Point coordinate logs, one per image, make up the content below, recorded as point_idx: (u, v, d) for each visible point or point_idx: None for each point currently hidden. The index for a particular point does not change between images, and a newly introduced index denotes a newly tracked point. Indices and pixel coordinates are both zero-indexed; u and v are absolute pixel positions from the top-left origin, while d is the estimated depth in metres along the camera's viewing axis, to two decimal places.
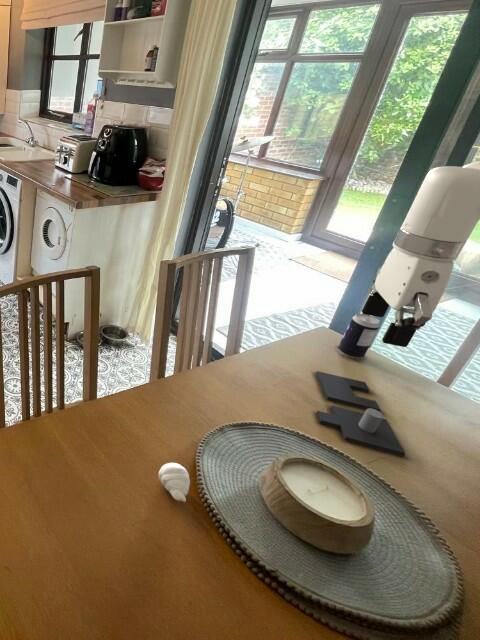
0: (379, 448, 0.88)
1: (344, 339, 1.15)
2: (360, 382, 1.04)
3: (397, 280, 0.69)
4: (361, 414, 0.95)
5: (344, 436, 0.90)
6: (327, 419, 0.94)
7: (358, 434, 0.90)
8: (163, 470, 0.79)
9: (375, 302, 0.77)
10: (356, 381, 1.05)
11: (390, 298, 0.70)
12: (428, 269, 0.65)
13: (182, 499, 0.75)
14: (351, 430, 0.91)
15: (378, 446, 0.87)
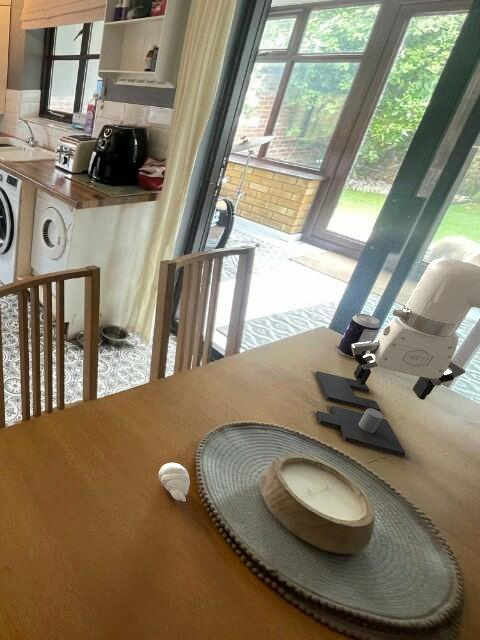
0: (379, 448, 0.88)
1: (344, 339, 1.15)
2: None
3: None
4: (361, 414, 0.95)
5: (344, 436, 0.90)
6: (327, 419, 0.94)
7: (358, 434, 0.90)
8: (163, 470, 0.79)
9: (420, 381, 0.84)
10: (356, 381, 1.05)
11: None
12: (389, 325, 0.82)
13: (182, 499, 0.75)
14: (351, 430, 0.91)
15: (378, 446, 0.87)
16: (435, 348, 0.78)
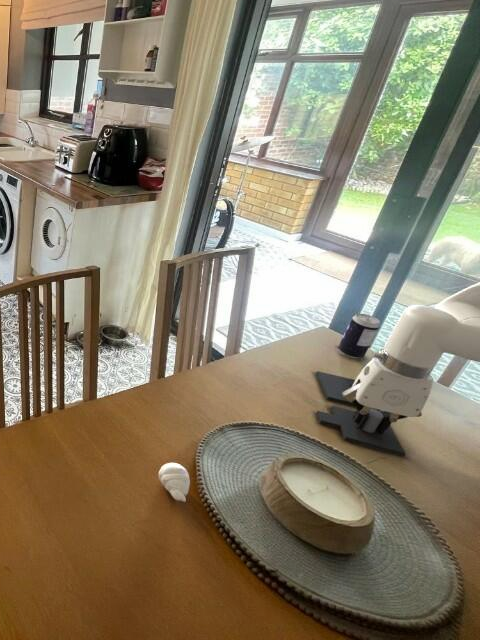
0: (379, 448, 0.88)
1: (344, 339, 1.15)
2: None
3: None
4: None
5: (344, 436, 0.90)
6: (327, 419, 0.94)
7: (358, 434, 0.90)
8: (163, 470, 0.79)
9: None
10: None
11: None
12: (369, 365, 0.87)
13: (182, 499, 0.75)
14: (351, 430, 0.91)
15: (378, 446, 0.87)
16: (411, 389, 0.82)
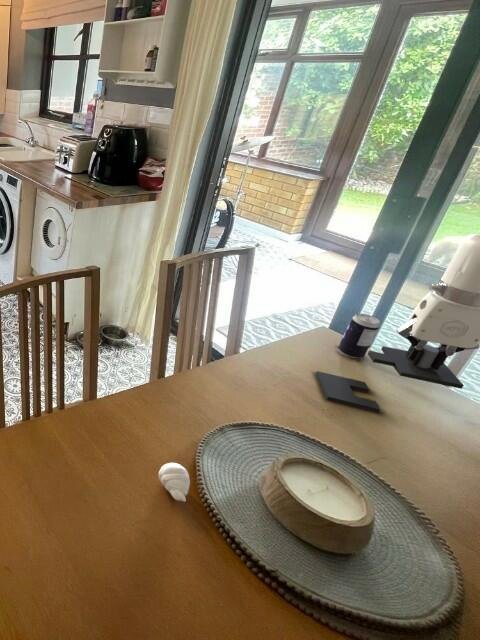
0: (436, 382, 0.88)
1: (344, 339, 1.15)
2: (360, 382, 1.04)
3: None
4: None
5: (400, 372, 0.90)
6: (380, 358, 0.94)
7: (414, 370, 0.90)
8: (163, 470, 0.79)
9: None
10: (356, 381, 1.05)
11: None
12: (425, 298, 0.87)
13: (182, 499, 0.75)
14: (406, 367, 0.91)
15: (435, 380, 0.88)
16: (471, 318, 0.83)
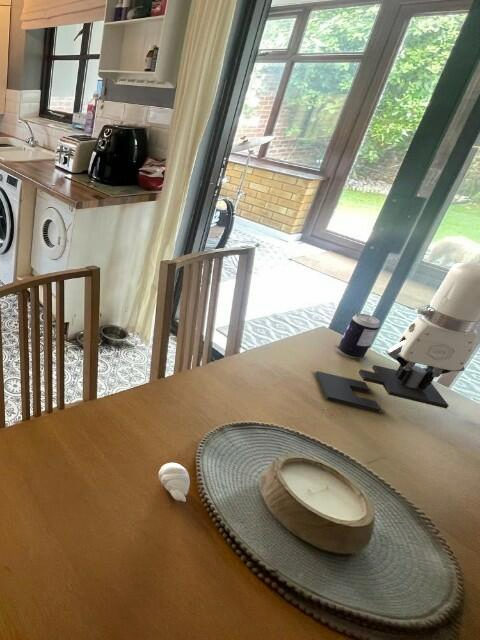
0: (423, 401, 0.92)
1: (344, 339, 1.15)
2: (360, 382, 1.04)
3: None
4: None
5: (388, 391, 0.94)
6: (370, 376, 0.98)
7: (402, 389, 0.94)
8: (163, 470, 0.79)
9: None
10: (356, 381, 1.05)
11: None
12: (414, 322, 0.91)
13: (182, 499, 0.75)
14: (394, 386, 0.95)
15: (421, 400, 0.92)
16: (456, 343, 0.87)
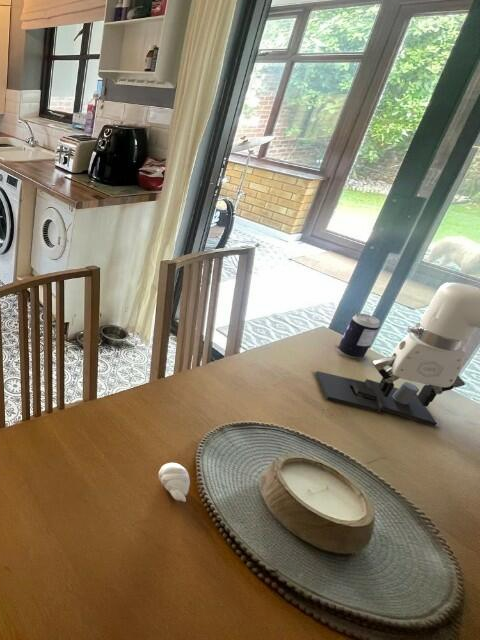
0: (412, 418, 0.94)
1: (344, 339, 1.15)
2: (360, 382, 1.04)
3: None
4: (394, 388, 1.02)
5: (380, 406, 0.96)
6: (364, 390, 1.00)
7: (393, 405, 0.96)
8: (163, 470, 0.79)
9: (424, 390, 0.96)
10: (356, 381, 1.05)
11: None
12: (404, 339, 0.93)
13: (182, 499, 0.75)
14: (386, 401, 0.97)
15: (411, 416, 0.94)
16: (445, 361, 0.89)
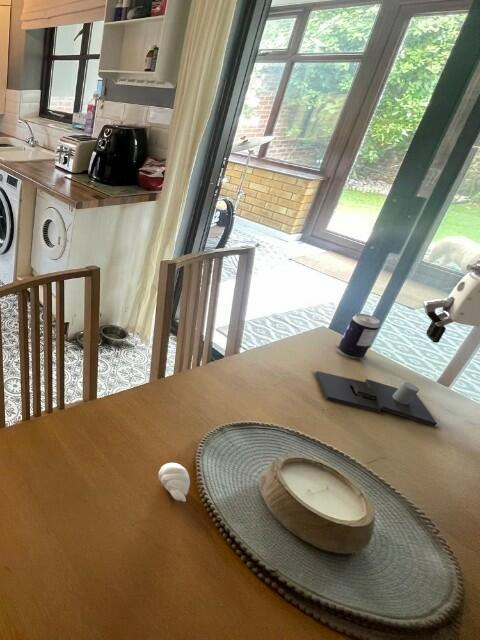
0: (412, 418, 0.94)
1: (344, 339, 1.15)
2: (360, 382, 1.04)
3: None
4: (394, 388, 1.02)
5: (380, 406, 0.96)
6: (364, 390, 1.00)
7: (393, 405, 0.96)
8: (163, 470, 0.79)
9: None
10: (356, 381, 1.05)
11: None
12: (463, 280, 0.84)
13: (182, 499, 0.75)
14: (386, 401, 0.97)
15: (411, 416, 0.94)
16: None
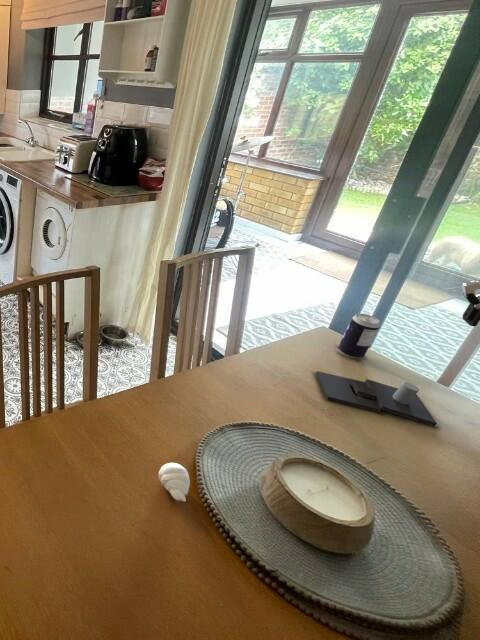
0: (412, 418, 0.94)
1: (344, 339, 1.15)
2: (360, 382, 1.04)
3: None
4: (394, 388, 1.02)
5: (380, 406, 0.96)
6: (364, 390, 1.00)
7: (393, 405, 0.96)
8: (163, 470, 0.79)
9: None
10: (356, 381, 1.05)
11: None
12: None
13: (182, 499, 0.75)
14: (386, 401, 0.97)
15: (411, 416, 0.94)
16: None
